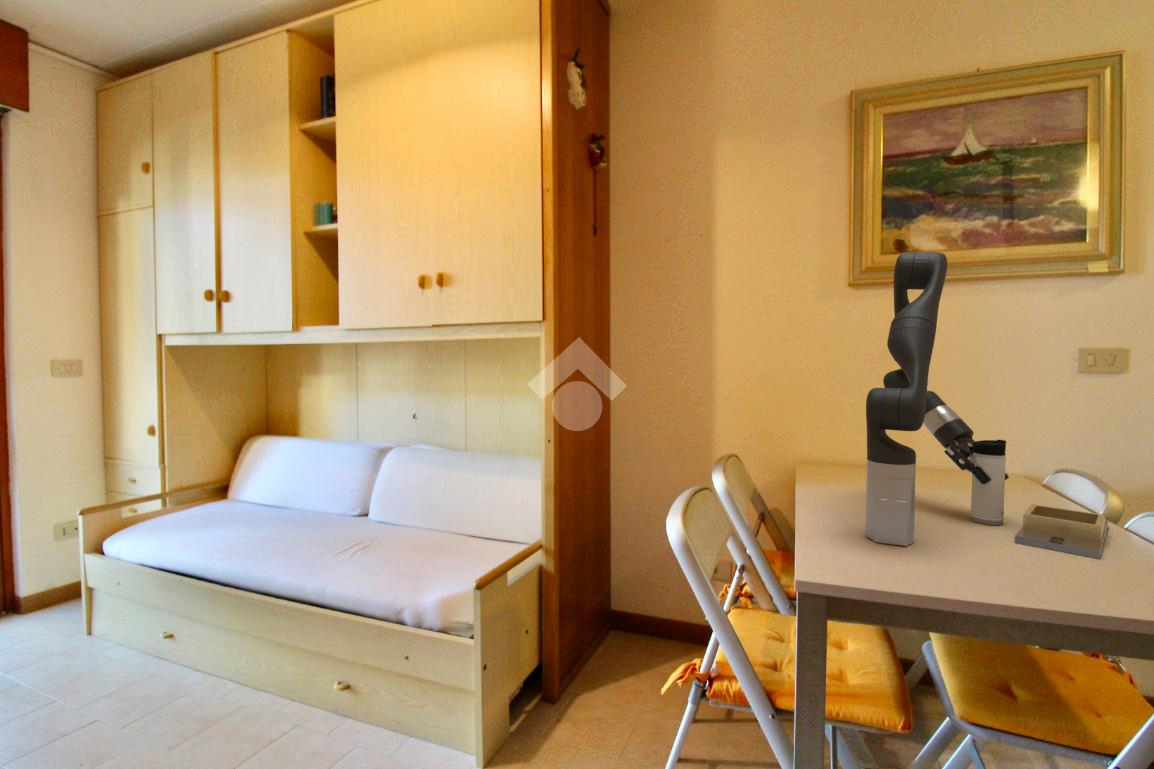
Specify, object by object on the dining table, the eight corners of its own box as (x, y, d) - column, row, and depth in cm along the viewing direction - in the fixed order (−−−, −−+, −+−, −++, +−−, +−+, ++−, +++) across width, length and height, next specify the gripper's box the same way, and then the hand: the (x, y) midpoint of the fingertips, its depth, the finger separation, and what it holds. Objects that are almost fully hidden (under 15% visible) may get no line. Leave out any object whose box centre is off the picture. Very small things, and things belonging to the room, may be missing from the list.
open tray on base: (1099, 559, 104) (1100, 536, 103) (1014, 542, 113) (1015, 522, 113) (1107, 526, 124) (1108, 507, 124) (1035, 515, 134) (1035, 497, 133)
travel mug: (1011, 525, 125) (1014, 442, 124) (983, 525, 125) (986, 441, 124) (991, 518, 131) (994, 438, 130) (964, 517, 131) (967, 438, 130)
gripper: (939, 418, 131) (990, 474, 121) (975, 416, 137) (1027, 469, 126) (917, 437, 136) (965, 492, 126) (953, 434, 142) (1002, 487, 131)
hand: (996, 481), depth 126 cm, fingers closed on travel mug, 6 cm apart
